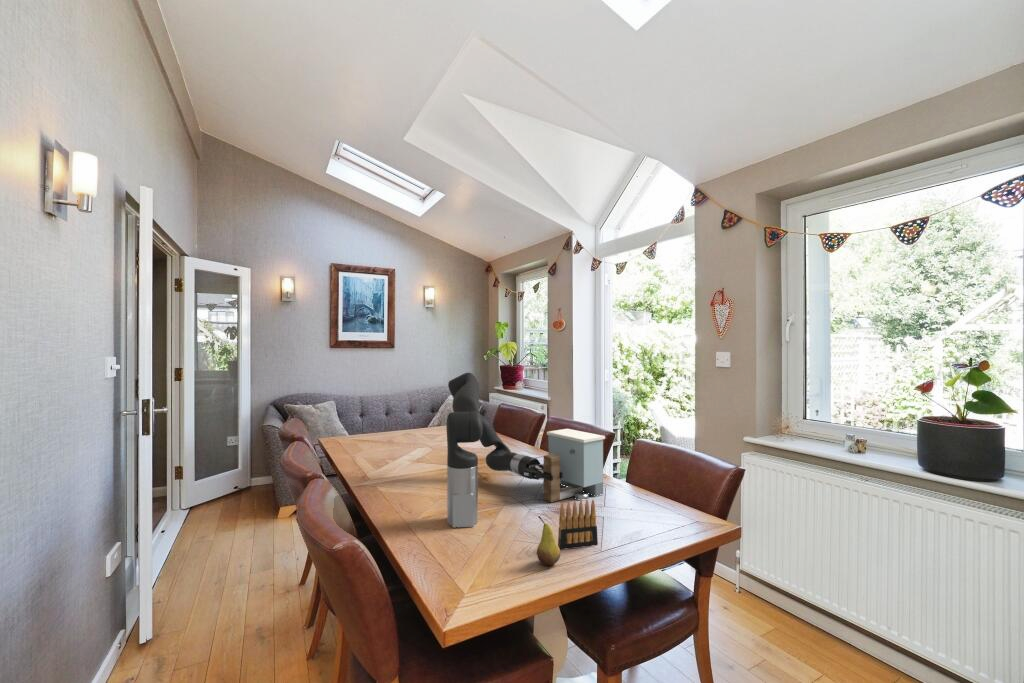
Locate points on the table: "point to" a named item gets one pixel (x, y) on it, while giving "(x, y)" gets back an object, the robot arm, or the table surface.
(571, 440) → the cabinet
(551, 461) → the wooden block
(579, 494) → the steel puck
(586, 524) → the ammunition clip
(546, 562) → the fruit
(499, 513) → the table surface
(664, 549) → the table surface
